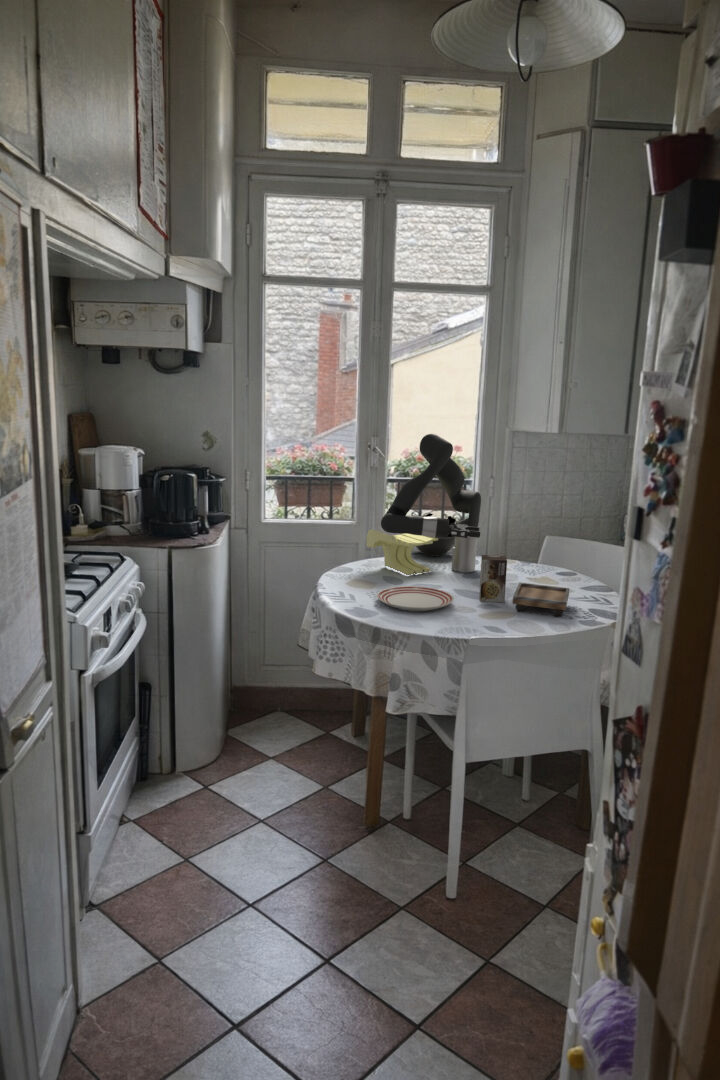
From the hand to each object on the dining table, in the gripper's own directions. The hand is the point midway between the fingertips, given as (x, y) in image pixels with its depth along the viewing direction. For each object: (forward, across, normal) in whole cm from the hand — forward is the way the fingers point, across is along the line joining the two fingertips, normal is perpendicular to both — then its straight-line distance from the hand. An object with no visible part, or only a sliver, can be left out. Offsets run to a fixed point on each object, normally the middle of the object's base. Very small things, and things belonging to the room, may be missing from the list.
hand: (479, 532), depth 291 cm
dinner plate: (-20, -13, +26) cm, 36 cm away
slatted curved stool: (-26, +31, +24) cm, 47 cm away
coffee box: (+7, -2, +24) cm, 25 cm away
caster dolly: (+24, -9, +23) cm, 35 cm away
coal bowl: (-15, +57, +23) cm, 64 cm away
